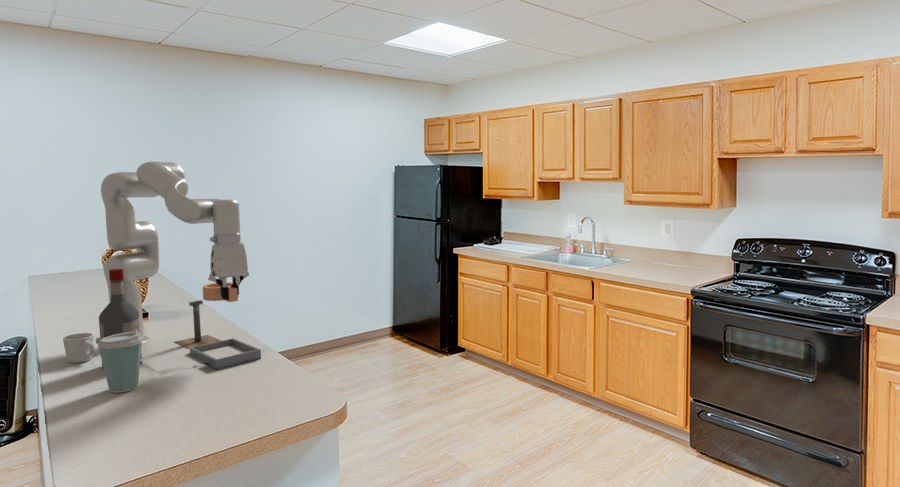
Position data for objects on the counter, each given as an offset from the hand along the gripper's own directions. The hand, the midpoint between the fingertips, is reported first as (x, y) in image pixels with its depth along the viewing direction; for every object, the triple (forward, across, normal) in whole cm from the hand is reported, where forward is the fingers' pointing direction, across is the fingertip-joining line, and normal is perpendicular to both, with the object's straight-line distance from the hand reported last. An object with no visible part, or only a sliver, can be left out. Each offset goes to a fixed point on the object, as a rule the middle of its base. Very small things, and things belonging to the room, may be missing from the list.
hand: (230, 298), depth 169 cm
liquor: (+20, -25, +21) cm, 38 cm away
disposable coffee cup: (+20, -31, 0) cm, 37 cm away
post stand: (+20, 0, +26) cm, 33 cm away
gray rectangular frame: (+20, 0, +5) cm, 21 cm away
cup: (+20, -32, +35) cm, 52 cm away
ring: (+1, 0, +5) cm, 5 cm away
